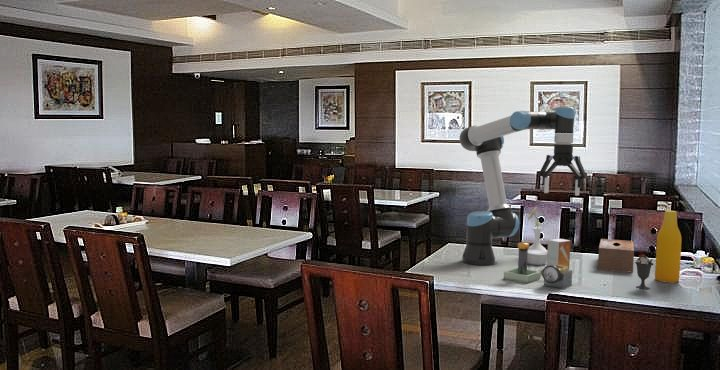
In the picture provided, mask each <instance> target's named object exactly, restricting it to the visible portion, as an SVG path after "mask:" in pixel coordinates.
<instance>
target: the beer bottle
mask: <svg viewBox="0 0 720 370" xmlns="http://www.w3.org/2000/svg"><path fill="white" fill-rule="evenodd" d="M681 234H682V233H681V231H680V229H679V226H678V215H677V211H676V210H665V211H664V215H663V222H662V225H661V227H660V229H659V231H658V233H657V236H656V251H655V266H654V267H655V268H654V269H655V270H654V279H655V280H656V281H658V280H659V281H658V282H661V281H665V282H664V283H668V282H676V283H678V282H679V281H680V276H681V272H680V271H681V259H682V258H681V256H682V255H681V254H682V241H683V240H682V235H681ZM677 281H678V282H677Z"/></svg>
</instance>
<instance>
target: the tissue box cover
mask: <svg viewBox="0 0 720 370" xmlns="http://www.w3.org/2000/svg"><path fill="white" fill-rule="evenodd" d="M598 245H599V246H598V255H597V256H598V258H597V270H602V271H603V270H604V271H612V270H614V271H615V272H623V271H631V272H630V273H633V272H634V263H635V262H634V259H635V258H634V257H635V246H634V245H635V242H634V240H625V239H624V240H622V239H621V240H620V239H609V238H608V239H607V238H600V242H599V244H598Z"/></svg>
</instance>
